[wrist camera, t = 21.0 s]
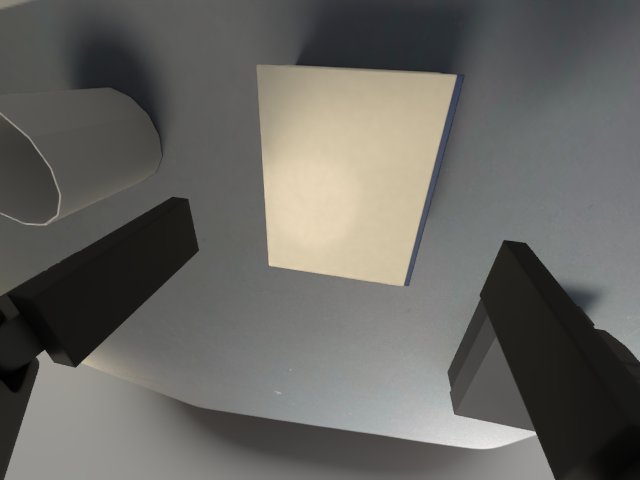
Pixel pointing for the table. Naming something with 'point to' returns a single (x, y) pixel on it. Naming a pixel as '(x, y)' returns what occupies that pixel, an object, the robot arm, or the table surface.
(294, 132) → the cream book
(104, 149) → the cup
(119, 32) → the table surface
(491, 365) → the grey stack
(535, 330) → the robot arm
